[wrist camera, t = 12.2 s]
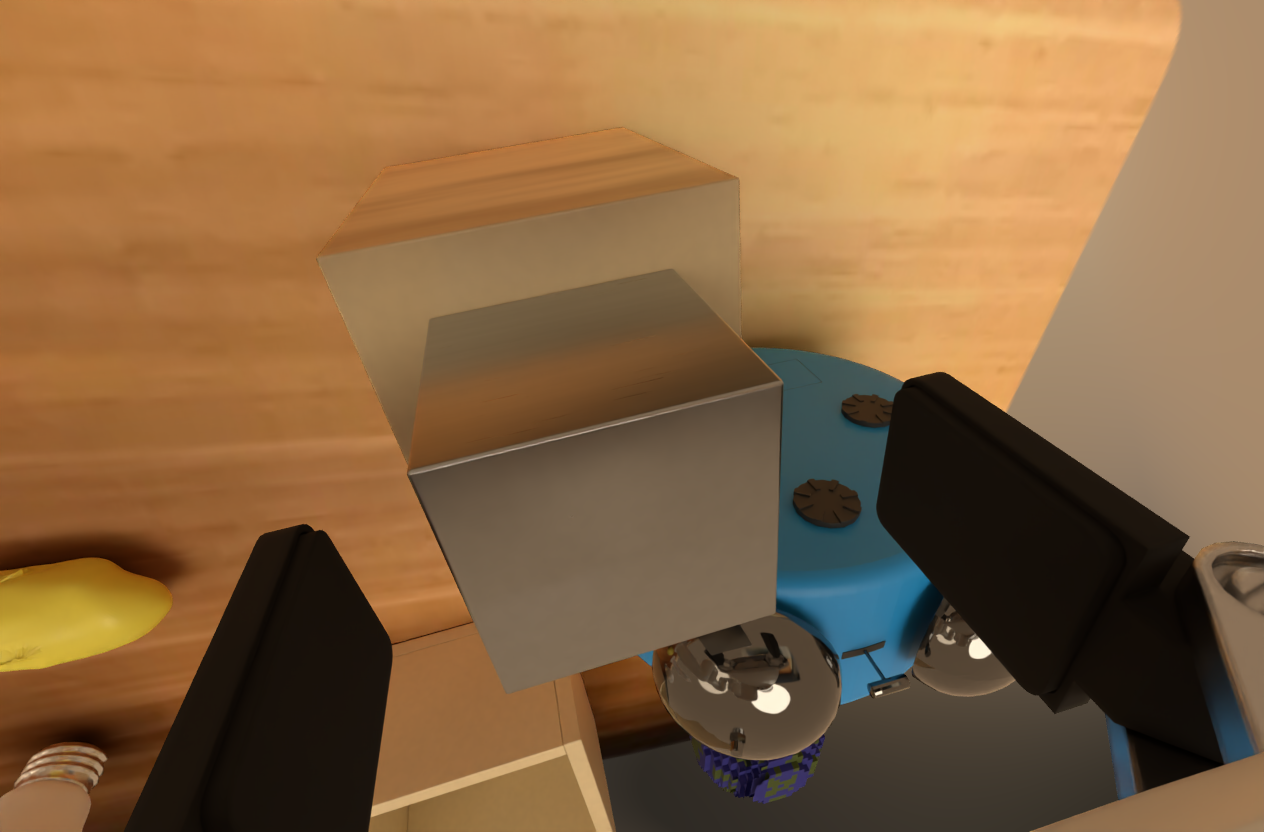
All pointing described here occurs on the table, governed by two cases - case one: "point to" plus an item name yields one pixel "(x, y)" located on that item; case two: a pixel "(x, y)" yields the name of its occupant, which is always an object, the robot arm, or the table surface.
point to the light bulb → (53, 789)
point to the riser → (522, 241)
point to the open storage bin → (484, 747)
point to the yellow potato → (74, 611)
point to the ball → (759, 772)
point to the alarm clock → (824, 588)
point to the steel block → (599, 473)
